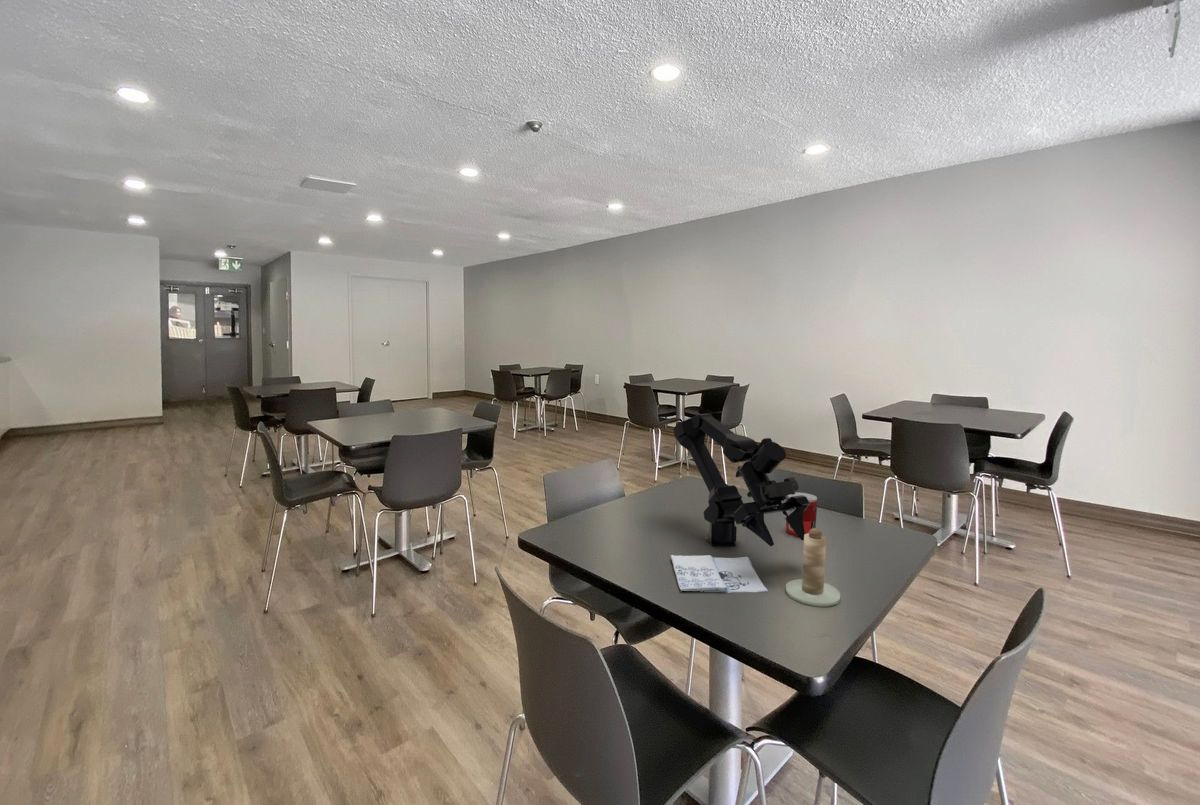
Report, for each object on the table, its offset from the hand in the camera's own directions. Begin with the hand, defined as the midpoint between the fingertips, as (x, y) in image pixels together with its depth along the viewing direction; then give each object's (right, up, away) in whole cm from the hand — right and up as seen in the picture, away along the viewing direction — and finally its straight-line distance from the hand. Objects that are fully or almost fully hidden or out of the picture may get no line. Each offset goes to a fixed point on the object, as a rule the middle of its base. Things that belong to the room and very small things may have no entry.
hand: (788, 542), depth 124 cm
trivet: (+3, -10, -6) cm, 12 cm away
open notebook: (-16, -9, +3) cm, 18 cm away
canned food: (+14, -6, +31) cm, 35 cm away
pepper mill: (+3, -9, -6) cm, 11 cm away
